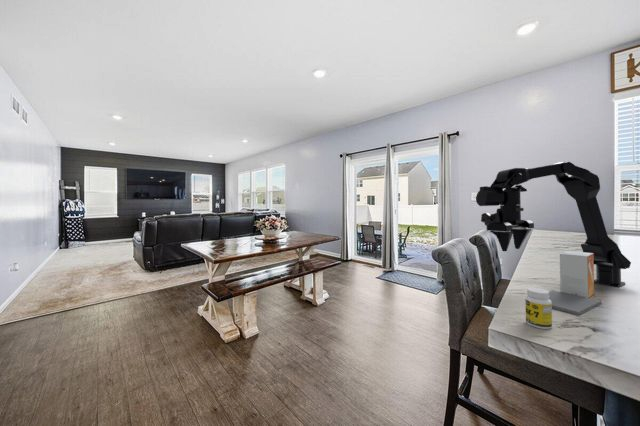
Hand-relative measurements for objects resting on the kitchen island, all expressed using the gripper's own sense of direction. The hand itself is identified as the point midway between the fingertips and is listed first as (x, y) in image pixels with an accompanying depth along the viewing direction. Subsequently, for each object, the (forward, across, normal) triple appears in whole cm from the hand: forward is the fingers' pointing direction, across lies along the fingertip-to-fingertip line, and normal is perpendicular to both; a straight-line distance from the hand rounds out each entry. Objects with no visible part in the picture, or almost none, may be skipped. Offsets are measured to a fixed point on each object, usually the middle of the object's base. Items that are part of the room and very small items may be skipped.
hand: (511, 250), depth 87 cm
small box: (+13, -9, +14) cm, 21 cm away
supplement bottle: (+14, +25, +18) cm, 33 cm away
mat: (+13, +3, +15) cm, 20 cm away
